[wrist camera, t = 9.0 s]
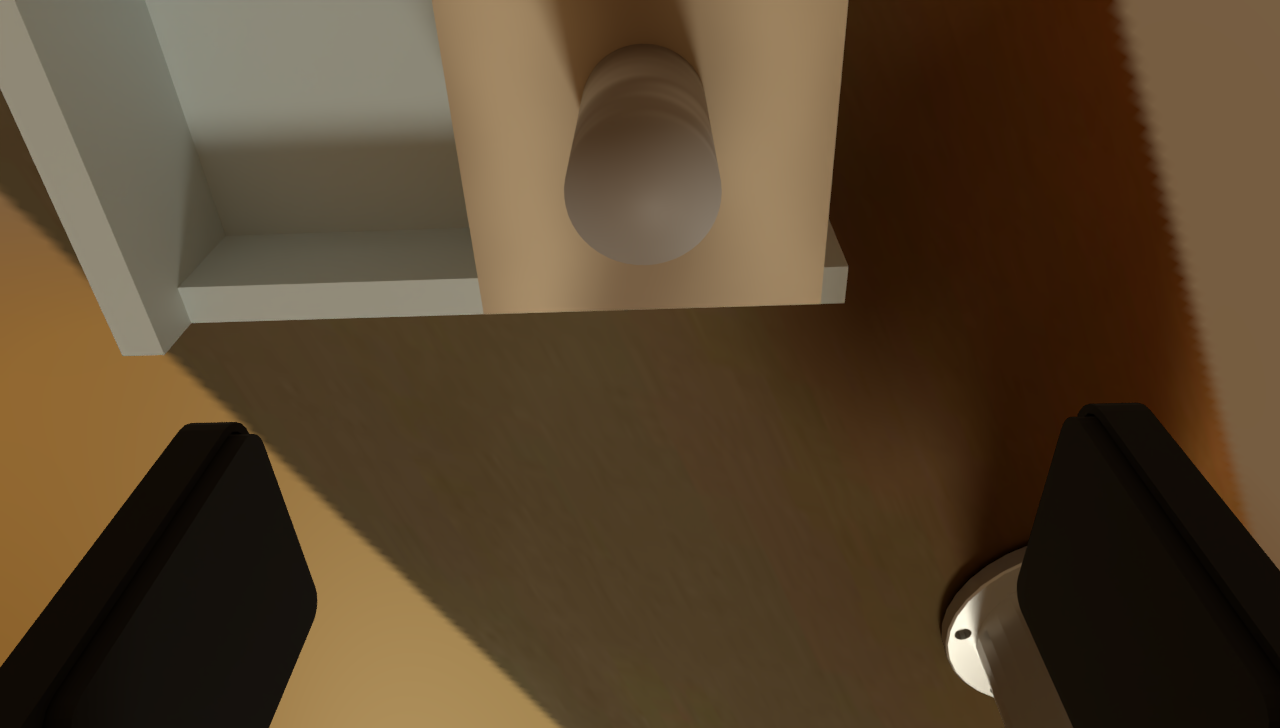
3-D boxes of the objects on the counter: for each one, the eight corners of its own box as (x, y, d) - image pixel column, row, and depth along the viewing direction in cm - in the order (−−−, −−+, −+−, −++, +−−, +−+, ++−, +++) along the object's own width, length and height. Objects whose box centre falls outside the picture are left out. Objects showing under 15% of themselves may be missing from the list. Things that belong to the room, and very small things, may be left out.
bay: (864, -275, 24) (932, -293, 18) (820, 238, 33) (856, 334, 27) (36, -234, 25) (-149, -238, 19) (212, 258, 34) (122, 356, 28)
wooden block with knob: (812, -187, 24) (937, -163, 14) (788, 206, 31) (859, 421, 21) (462, -170, 25) (327, -136, 14) (514, 215, 31) (447, 432, 21)
